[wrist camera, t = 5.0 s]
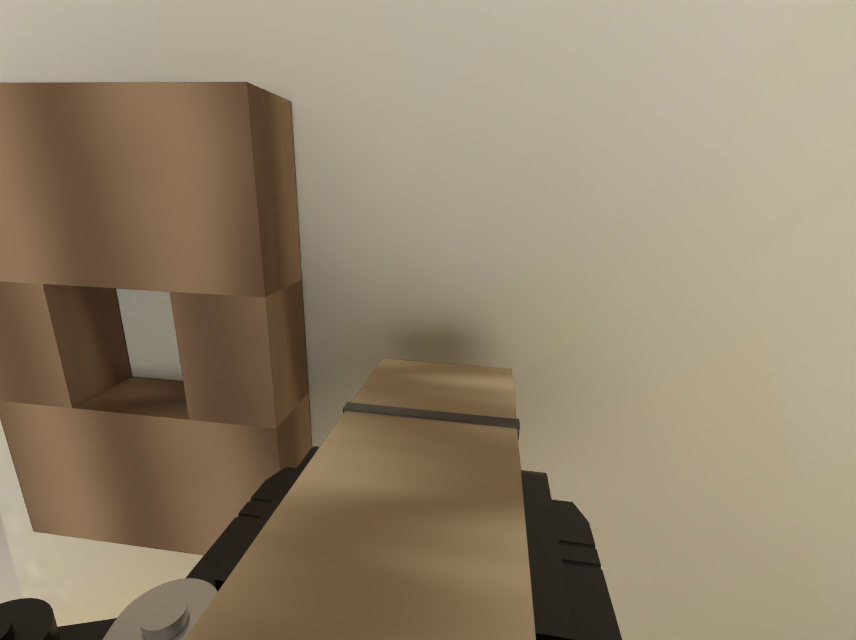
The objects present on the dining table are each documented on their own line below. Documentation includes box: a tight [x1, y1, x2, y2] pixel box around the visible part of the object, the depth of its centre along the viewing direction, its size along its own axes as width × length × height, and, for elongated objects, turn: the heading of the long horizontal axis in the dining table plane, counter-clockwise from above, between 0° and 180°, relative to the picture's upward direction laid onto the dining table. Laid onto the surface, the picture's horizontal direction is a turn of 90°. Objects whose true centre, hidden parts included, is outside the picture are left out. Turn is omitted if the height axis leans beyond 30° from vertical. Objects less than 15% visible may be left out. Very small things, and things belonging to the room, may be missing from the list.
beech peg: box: [184, 358, 536, 640], centre depth 7 cm, size 4×4×11 cm
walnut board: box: [0, 82, 312, 555], centre depth 17 cm, size 12×18×3 cm, turn 178°
